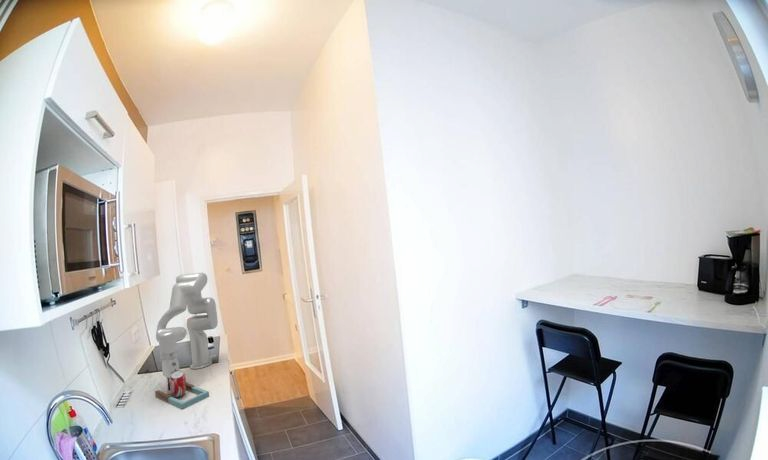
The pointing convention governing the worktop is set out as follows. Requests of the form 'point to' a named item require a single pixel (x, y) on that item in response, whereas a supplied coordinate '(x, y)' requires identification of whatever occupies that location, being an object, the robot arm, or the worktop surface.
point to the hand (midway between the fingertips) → (172, 389)
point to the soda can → (177, 383)
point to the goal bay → (201, 395)
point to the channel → (165, 396)
